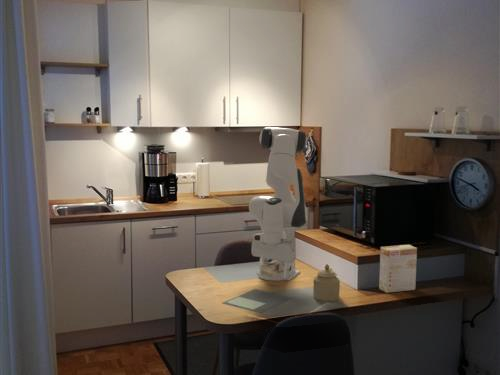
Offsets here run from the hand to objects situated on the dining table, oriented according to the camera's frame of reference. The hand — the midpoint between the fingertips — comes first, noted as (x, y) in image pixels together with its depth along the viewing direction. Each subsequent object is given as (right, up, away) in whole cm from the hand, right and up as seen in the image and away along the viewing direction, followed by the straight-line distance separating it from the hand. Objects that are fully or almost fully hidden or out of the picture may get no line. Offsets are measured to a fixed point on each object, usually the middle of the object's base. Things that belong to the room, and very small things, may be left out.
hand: (273, 269), depth 240 cm
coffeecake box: (+57, -12, +18) cm, 61 cm away
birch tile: (0, -2, 0) cm, 2 cm away
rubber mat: (-6, -14, 0) cm, 15 cm away
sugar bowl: (+23, -13, +7) cm, 27 cm away
